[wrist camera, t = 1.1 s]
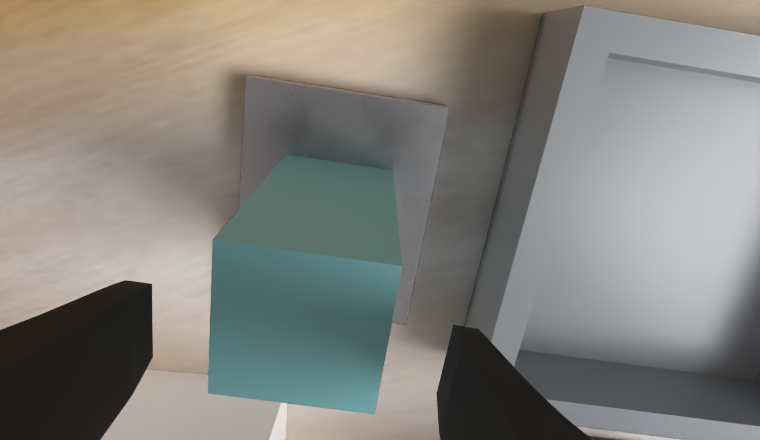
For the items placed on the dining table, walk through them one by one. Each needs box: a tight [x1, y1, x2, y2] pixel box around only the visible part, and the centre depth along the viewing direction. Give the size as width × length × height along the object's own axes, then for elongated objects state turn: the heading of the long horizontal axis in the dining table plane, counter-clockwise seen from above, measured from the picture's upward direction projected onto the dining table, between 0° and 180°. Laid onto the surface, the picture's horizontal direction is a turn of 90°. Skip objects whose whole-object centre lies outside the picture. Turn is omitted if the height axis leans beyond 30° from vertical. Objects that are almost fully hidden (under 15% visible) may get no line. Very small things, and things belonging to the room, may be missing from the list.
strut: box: [208, 154, 402, 414], centre depth 16 cm, size 4×4×9 cm
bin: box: [464, 6, 760, 440], centre depth 20 cm, size 16×16×4 cm
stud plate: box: [239, 75, 449, 325], centre depth 20 cm, size 10×8×3 cm
